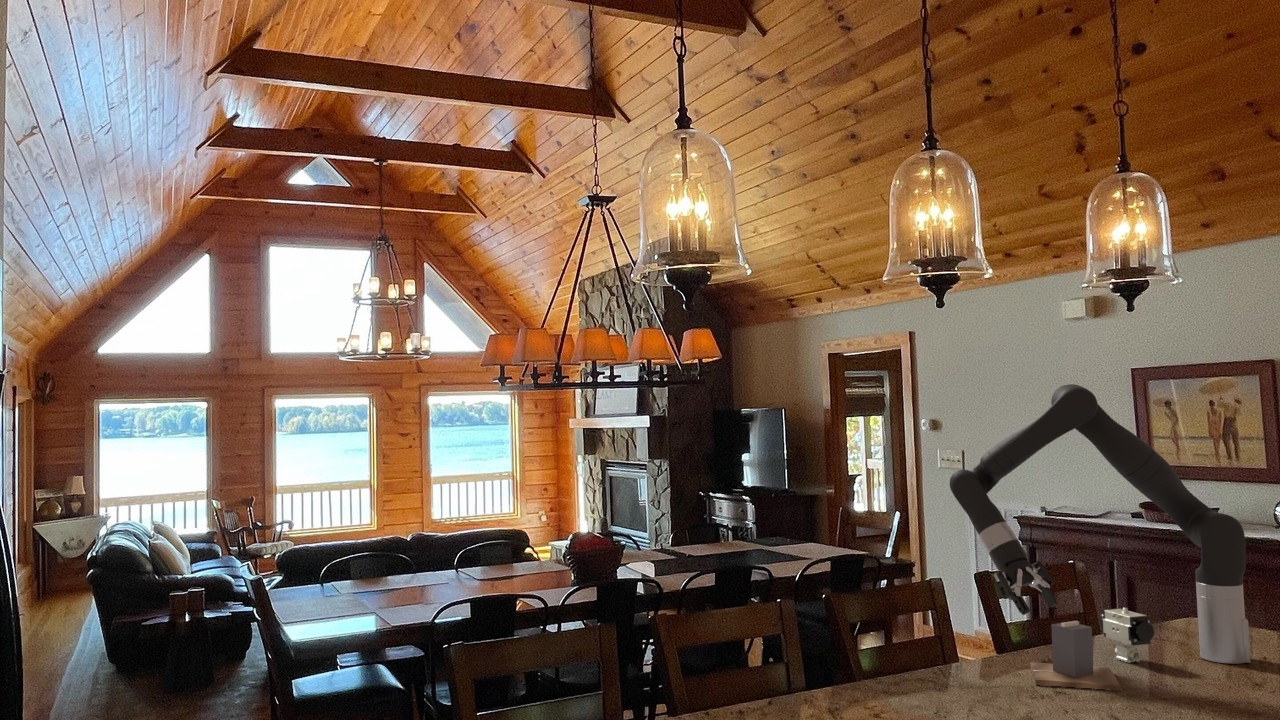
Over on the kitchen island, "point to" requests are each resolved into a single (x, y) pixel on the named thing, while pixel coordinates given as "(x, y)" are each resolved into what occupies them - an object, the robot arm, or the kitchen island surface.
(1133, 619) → the pneumatic valve
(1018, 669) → the kitchen island surface
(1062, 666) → the grey rectangular block
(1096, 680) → the panel
